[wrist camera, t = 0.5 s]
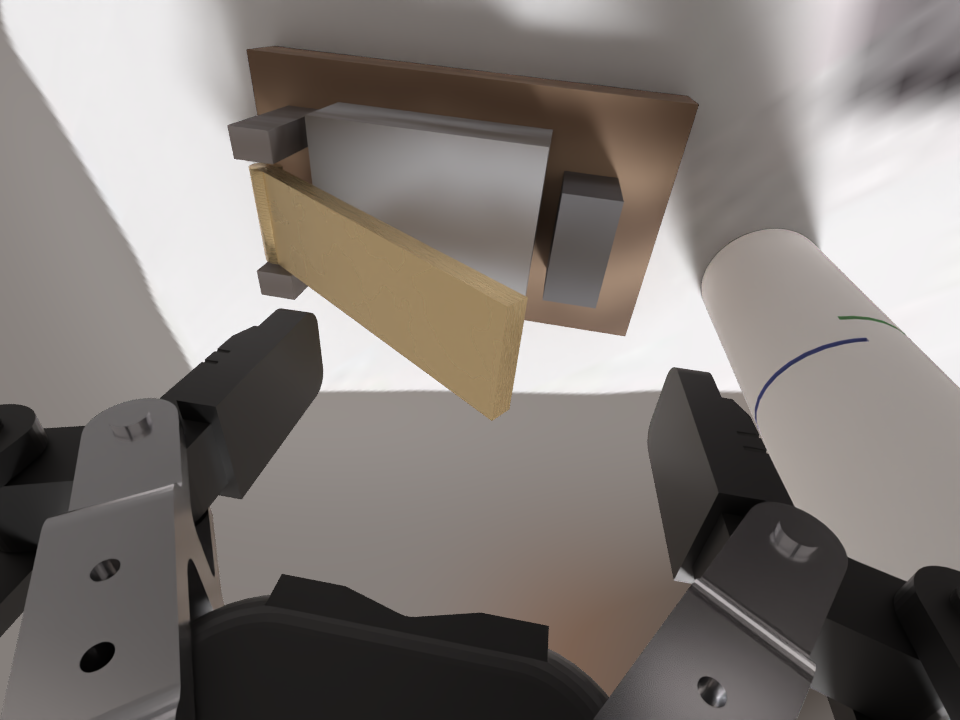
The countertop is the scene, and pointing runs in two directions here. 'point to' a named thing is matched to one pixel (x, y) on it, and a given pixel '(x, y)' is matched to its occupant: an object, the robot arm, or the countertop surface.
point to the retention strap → (395, 287)
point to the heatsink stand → (480, 169)
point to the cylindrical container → (841, 401)
